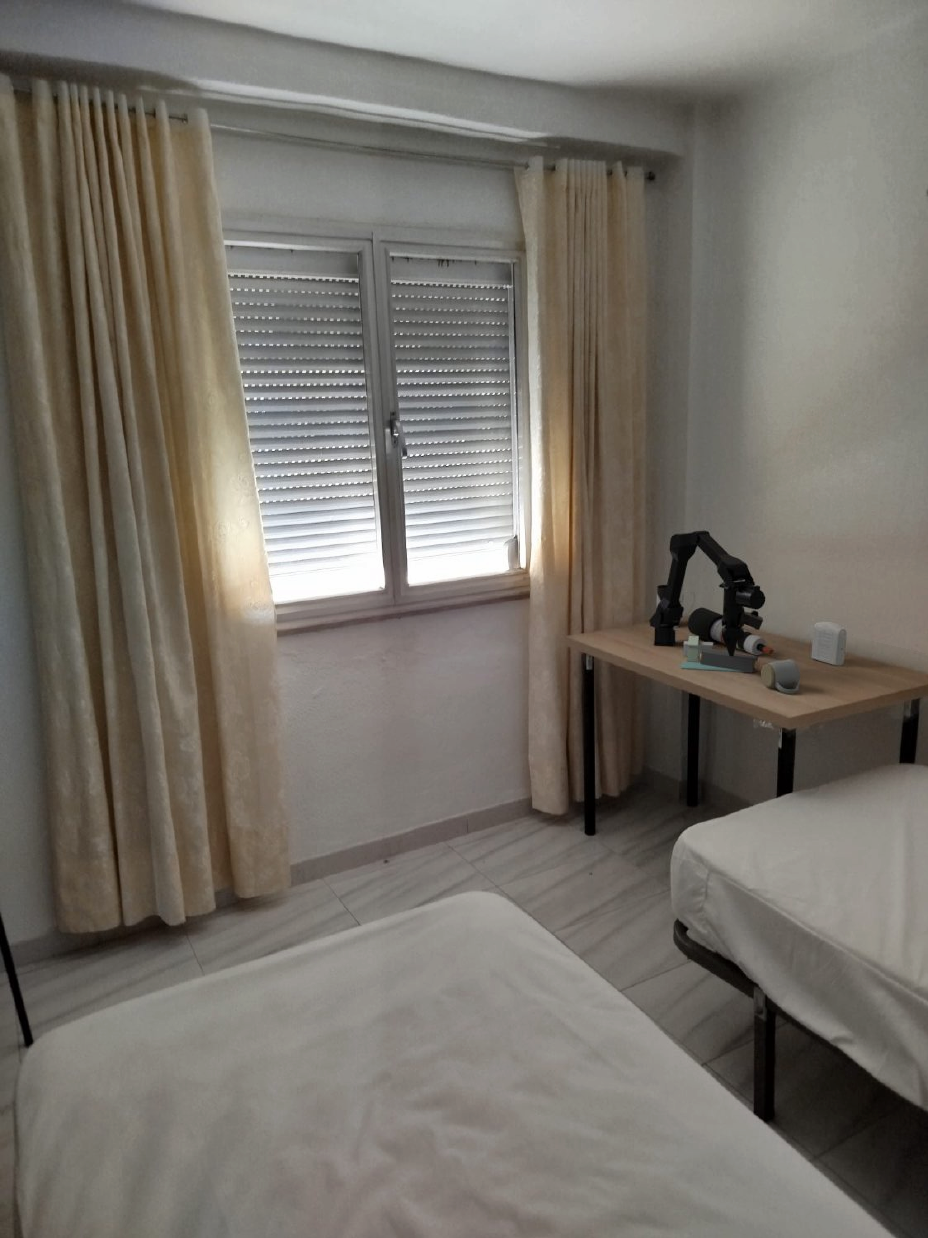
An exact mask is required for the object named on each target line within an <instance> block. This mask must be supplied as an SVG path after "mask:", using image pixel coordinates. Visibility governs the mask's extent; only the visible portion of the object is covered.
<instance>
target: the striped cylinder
mask: <svg viewBox="0 0 928 1238" xmlns="http://www.w3.org/2000/svg"><path fill="white" fill-rule="evenodd" d="M722 618H723V614H721V613H718V612H716V611H713V610H711V609H710V608H709V609H708V608H706V607H698V608H696V609H694V610H693V611H692V613H690V615H689V617H688V620H687V628H688V631H689V633H690V634H692V635H693V636H699V638H701V639H703V640H705V641H706V642H713V644H719V643H723V645H725V643H724V640H723V638H722V628H723V627H724V626H725V625H724V626H722ZM736 649H738V650H741V651H744V652H746V653H749V654H750V655H752V656H759V655H760V656H761V655H762V654H763V653H764V654H767V655H768V656H772V655H773V654H774V652H775V649H773V648H771V647H769V646H767V641H766V639H765V638H763V637H761V636H759V635H757V634H755V633H752V632H750V631H748V630H746V629H744V638H741V639H739V640H738V641H737V645H736Z"/></svg>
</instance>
